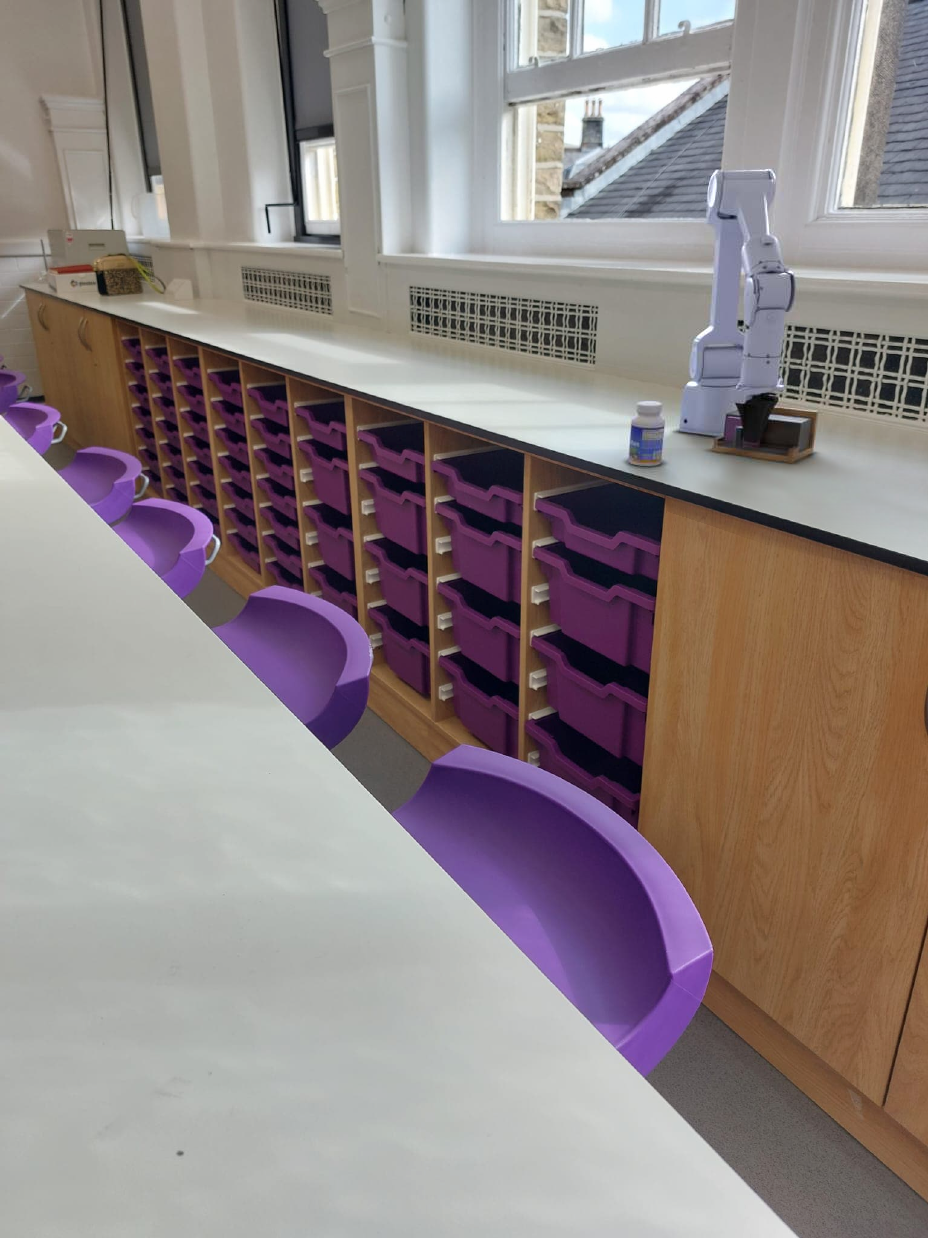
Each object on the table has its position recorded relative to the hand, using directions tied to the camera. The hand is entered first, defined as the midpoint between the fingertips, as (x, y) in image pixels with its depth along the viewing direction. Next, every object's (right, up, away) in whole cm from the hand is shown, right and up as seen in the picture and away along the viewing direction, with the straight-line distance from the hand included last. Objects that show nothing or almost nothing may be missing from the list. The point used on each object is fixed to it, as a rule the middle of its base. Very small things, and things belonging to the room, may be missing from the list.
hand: (751, 441), depth 143 cm
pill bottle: (-17, -3, +2) cm, 17 cm away
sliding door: (-1, 0, +5) cm, 5 cm away
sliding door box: (+4, 0, +8) cm, 9 cm away
